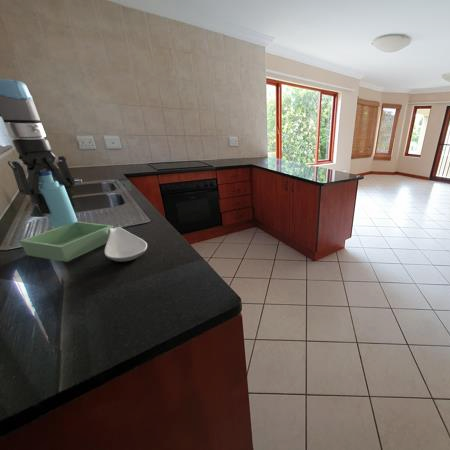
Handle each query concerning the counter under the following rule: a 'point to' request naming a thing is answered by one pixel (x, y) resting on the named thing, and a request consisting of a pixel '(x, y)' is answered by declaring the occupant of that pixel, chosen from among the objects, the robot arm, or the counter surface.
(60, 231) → the bin
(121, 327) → the counter surface
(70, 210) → the bottle
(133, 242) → the spoon rest
